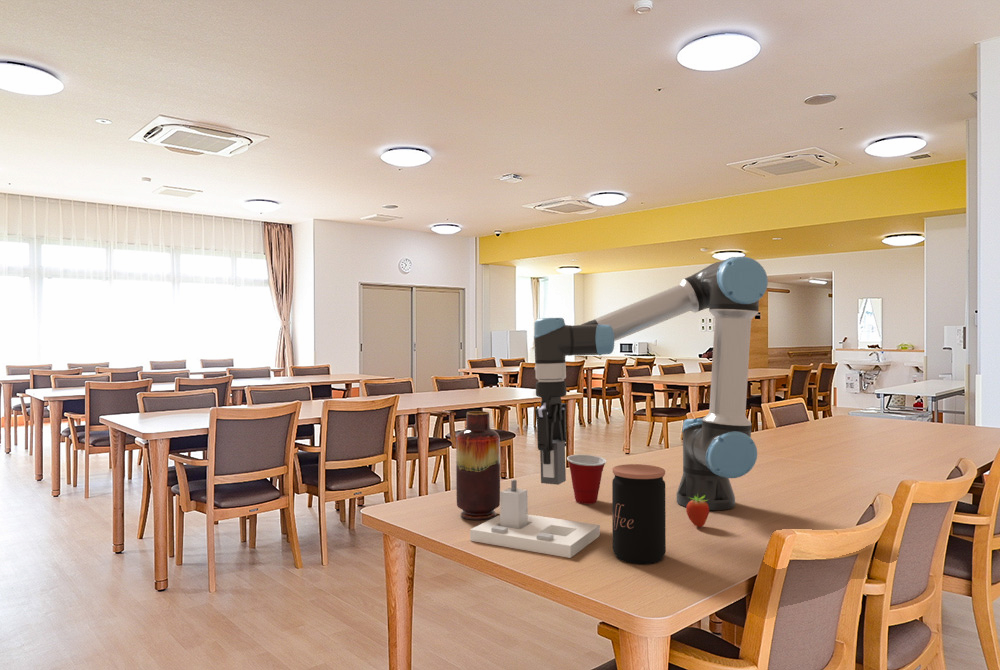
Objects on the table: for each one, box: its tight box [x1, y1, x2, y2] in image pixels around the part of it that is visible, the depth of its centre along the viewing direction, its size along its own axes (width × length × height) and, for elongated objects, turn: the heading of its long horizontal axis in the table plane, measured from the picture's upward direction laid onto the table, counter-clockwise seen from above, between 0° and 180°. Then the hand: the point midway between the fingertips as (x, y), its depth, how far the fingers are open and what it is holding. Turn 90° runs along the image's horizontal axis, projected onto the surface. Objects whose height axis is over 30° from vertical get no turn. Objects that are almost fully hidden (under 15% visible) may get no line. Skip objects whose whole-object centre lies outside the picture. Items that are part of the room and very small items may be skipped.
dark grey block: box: [539, 440, 567, 486], centre depth 163 cm, size 5×5×10 cm
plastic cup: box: [566, 453, 607, 505], centre depth 181 cm, size 11×11×12 cm
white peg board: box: [469, 479, 601, 559], centre depth 148 cm, size 24×17×12 cm
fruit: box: [685, 494, 710, 528], centre depth 156 cm, size 5×5×8 cm
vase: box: [455, 410, 501, 521], centre depth 167 cm, size 11×11×26 cm
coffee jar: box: [611, 463, 667, 565], centre depth 136 cm, size 11×11×18 cm
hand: (553, 474), depth 163 cm, fingers closed on dark grey block, 5 cm apart
